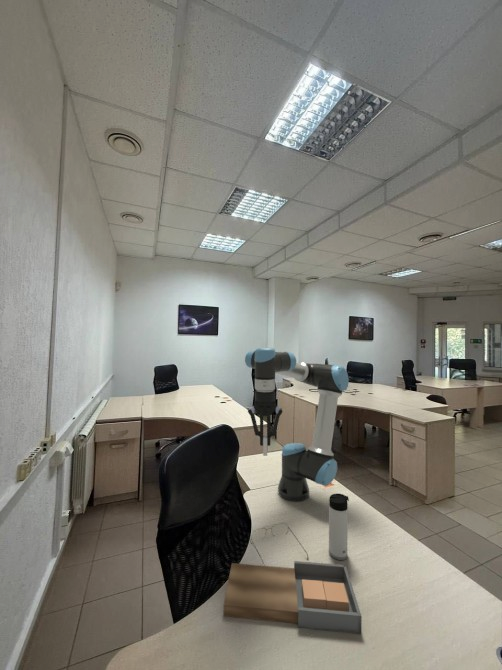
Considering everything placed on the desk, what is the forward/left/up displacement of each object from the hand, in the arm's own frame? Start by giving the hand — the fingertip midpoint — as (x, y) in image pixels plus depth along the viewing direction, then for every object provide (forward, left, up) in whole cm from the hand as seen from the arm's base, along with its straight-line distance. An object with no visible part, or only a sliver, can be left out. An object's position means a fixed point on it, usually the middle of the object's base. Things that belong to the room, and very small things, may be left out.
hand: (265, 454), depth 101 cm
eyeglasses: (+2, +5, -34) cm, 34 cm away
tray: (+20, +18, -33) cm, 43 cm away
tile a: (+20, +15, -32) cm, 41 cm away
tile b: (+20, +21, -32) cm, 44 cm away
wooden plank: (+20, 0, -33) cm, 39 cm away
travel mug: (+1, +26, -33) cm, 42 cm away
